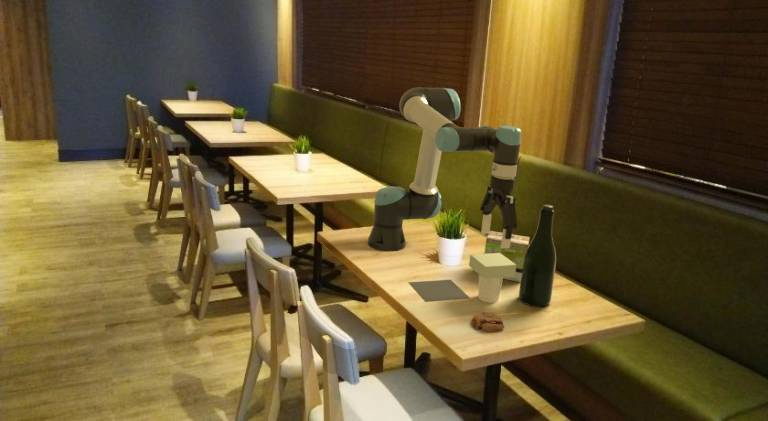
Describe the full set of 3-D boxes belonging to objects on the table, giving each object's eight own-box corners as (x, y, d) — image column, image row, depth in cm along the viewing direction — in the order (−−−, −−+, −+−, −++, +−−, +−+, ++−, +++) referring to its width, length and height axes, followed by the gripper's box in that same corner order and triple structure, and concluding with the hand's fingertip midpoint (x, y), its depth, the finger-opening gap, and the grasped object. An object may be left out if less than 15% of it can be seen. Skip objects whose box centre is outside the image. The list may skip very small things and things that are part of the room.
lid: (468, 265, 203) (470, 254, 202) (498, 264, 206) (499, 252, 205) (484, 278, 193) (485, 266, 192) (514, 276, 196) (516, 264, 195)
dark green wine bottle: (557, 305, 201) (572, 208, 192) (531, 309, 196) (546, 211, 187) (536, 292, 210) (549, 200, 201) (511, 296, 205) (524, 202, 196)
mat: (408, 283, 211) (408, 282, 211) (450, 280, 216) (450, 279, 216) (425, 302, 196) (425, 301, 196) (470, 299, 201) (470, 298, 201)
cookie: (503, 320, 188) (505, 311, 187) (504, 335, 178) (505, 326, 177) (471, 315, 190) (472, 307, 189) (470, 331, 180) (471, 321, 179)
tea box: (481, 276, 222) (485, 237, 217) (484, 267, 231) (488, 229, 227) (523, 283, 218) (528, 243, 214) (524, 273, 227) (530, 235, 223)
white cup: (499, 305, 198) (503, 277, 195) (475, 302, 199) (478, 273, 196) (500, 296, 205) (504, 268, 202) (476, 292, 207) (480, 265, 204)
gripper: (474, 167, 201) (467, 228, 207) (512, 186, 178) (503, 255, 184) (495, 167, 203) (487, 227, 209) (535, 186, 181) (525, 253, 187)
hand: (494, 240), depth 197 cm, fingers open, 13 cm apart
